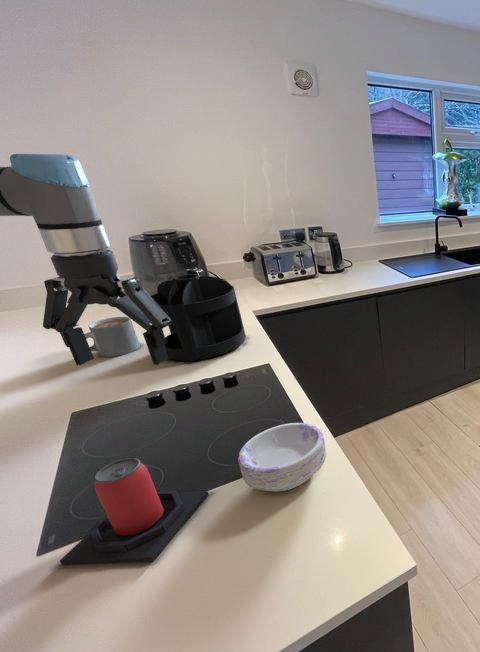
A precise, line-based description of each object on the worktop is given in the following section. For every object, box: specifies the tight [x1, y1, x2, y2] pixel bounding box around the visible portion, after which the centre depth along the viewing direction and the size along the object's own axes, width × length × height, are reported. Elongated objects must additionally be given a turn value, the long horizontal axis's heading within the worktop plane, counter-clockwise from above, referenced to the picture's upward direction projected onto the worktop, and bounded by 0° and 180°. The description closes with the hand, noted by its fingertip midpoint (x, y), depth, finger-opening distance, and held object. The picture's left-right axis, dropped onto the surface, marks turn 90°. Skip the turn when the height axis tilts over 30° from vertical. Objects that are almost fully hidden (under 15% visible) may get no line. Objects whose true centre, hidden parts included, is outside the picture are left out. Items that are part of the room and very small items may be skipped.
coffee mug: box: [84, 316, 141, 358], centre depth 129 cm, size 13×10×10 cm
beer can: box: [94, 457, 164, 536], centre depth 68 cm, size 7×7×12 cm
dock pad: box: [59, 490, 209, 566], centre depth 70 cm, size 14×14×2 cm
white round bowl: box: [237, 422, 327, 493], centre depth 82 cm, size 15×15×8 cm
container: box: [150, 273, 247, 362], centre depth 131 cm, size 22×23×25 cm
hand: (123, 361), depth 76 cm, fingers open, 13 cm apart
